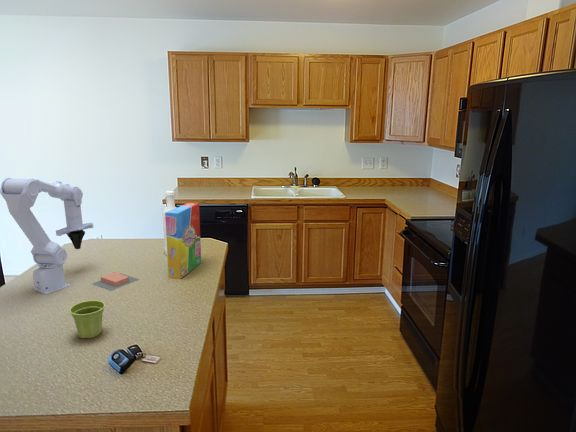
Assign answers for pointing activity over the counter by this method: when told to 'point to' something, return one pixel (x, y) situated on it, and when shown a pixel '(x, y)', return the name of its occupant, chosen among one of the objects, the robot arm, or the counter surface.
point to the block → (115, 279)
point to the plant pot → (88, 317)
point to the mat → (110, 287)
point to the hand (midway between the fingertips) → (77, 248)
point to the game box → (183, 239)
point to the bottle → (169, 207)
